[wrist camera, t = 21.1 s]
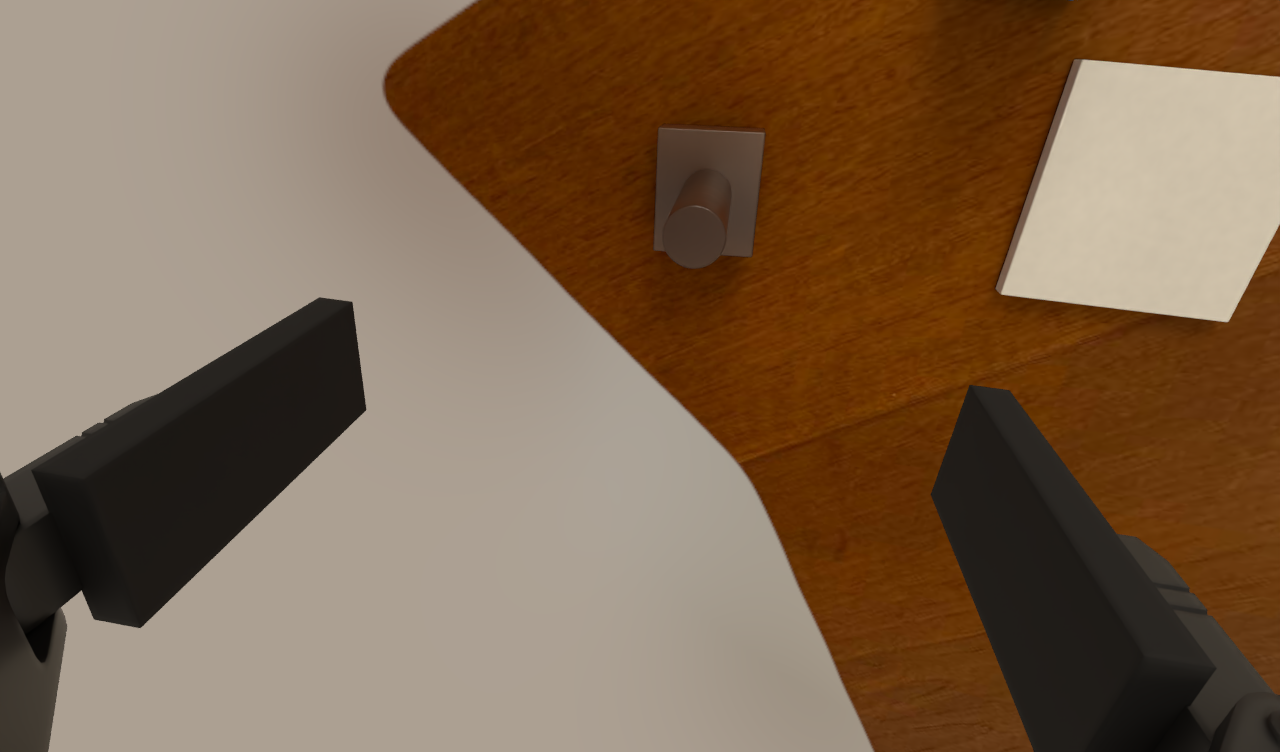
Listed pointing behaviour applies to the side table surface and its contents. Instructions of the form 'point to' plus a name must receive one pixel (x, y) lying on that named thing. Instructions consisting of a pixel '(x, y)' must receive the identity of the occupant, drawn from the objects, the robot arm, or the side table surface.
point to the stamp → (707, 192)
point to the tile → (1151, 191)
